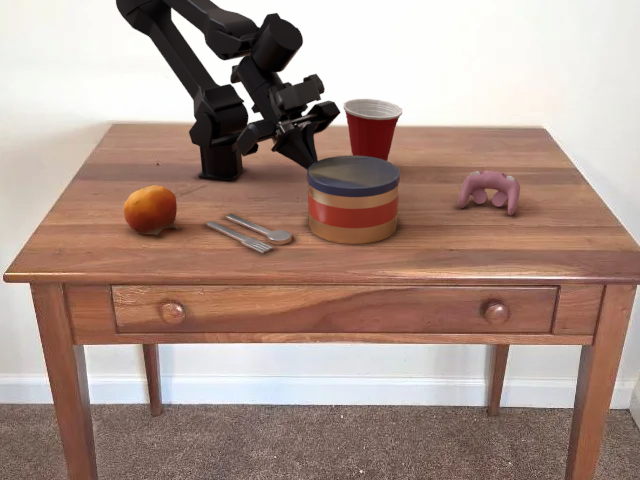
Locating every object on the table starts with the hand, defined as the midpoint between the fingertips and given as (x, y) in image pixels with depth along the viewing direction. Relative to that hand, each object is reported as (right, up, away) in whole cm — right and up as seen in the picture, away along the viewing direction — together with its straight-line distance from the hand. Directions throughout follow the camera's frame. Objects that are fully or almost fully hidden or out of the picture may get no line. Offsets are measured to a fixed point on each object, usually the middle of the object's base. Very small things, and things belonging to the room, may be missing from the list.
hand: (316, 172), depth 120 cm
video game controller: (+29, -5, +7) cm, 30 cm away
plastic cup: (+9, +5, +21) cm, 23 cm away
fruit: (-25, -10, -3) cm, 27 cm away
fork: (-12, -11, -6) cm, 17 cm away
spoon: (-9, -10, -3) cm, 14 cm away
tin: (+6, -9, -1) cm, 10 cm away
